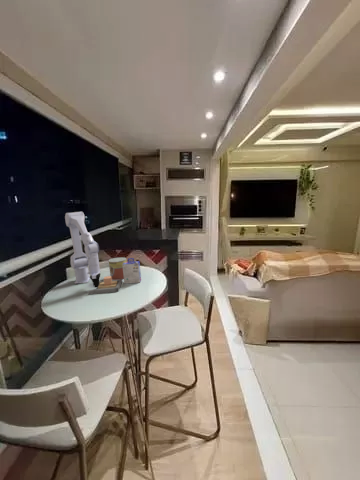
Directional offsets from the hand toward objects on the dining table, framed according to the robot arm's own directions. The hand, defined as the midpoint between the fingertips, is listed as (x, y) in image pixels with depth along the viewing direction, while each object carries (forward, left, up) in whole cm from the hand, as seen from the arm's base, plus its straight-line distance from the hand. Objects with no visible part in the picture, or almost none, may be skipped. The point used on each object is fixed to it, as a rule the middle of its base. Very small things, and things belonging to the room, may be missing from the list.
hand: (96, 286), depth 149 cm
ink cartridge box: (-7, +20, -1) cm, 21 cm away
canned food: (-18, +10, -1) cm, 21 cm away
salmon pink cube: (-1, +7, +1) cm, 7 cm away
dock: (0, +6, -1) cm, 6 cm away
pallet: (-1, +6, -1) cm, 7 cm away
